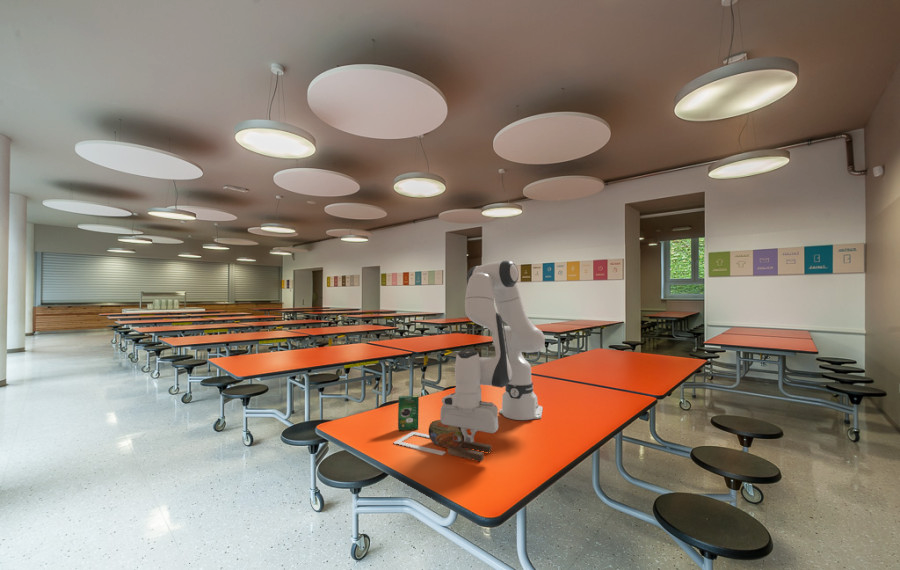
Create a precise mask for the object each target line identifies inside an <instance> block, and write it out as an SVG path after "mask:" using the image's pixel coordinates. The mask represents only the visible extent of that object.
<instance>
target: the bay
mask: <svg viewBox="0 0 900 570" xmlns="http://www.w3.org/2000/svg"><path fill="white" fill-rule="evenodd" d="M413 435H414V436H415V435H417V437H420V436H421V438H425V437H426V439H429V438H430V437H429V434H426V433H421V432H417V431H411V432H409V433H408V434H406V435H404V436H402V437H400V438H399V439H396V441H394V442H393V443H394V444H393V445H396V444H399V445H398V446H400V445H402V446H401V447H404V446H406V447H405V448H409V447H410V448H409V449H413V450H416V451H417V450H418V451H422V452H425V453H430V454H435V455H439V456H444V455H445V454H447V453H446V451H444V450H439V449H435V448H430V447H427V446H426V447H425V446H421V445H417V444H413V443H408V442H405V441H406V439H407V440H409V439H410V438H411V436H412V437H414V436H413ZM409 437H410V438H409ZM408 438H409V439H408ZM404 440H405V441H404ZM402 441H403V442H402Z"/></svg>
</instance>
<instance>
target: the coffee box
mask: <svg viewBox="0 0 900 570" xmlns="http://www.w3.org/2000/svg"><path fill="white" fill-rule="evenodd" d="M419 398H420V397H419V395H417V394H416V395H401V396H400V395H399V396H398V402H397V403H398V405H397V406H398V410H397V430H398V429H399V430H406V431H412V429H416V430H419V410H420V409H419V402H420V401H419ZM399 430H398V431H399Z"/></svg>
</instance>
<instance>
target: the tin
mask: <svg viewBox="0 0 900 570" xmlns="http://www.w3.org/2000/svg"><path fill="white" fill-rule="evenodd" d="M428 435H429V437H430V441H431V443H433V444H434V445H436V446H438V447H442V448H446V449H448V447H450V446H455V447H459V448H461V447H462V446H463V445H464V444H465V441H464V436H463V434H462V432H461V428H460V427H455V426H449V425H443V424H442V423H441V420H440V419H436V420H433V421H431V422H430V424H429V426H428Z"/></svg>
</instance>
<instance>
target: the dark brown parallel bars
mask: <svg viewBox="0 0 900 570" xmlns="http://www.w3.org/2000/svg"><path fill="white" fill-rule="evenodd" d="M465 448H468V449H465ZM470 449H474V450H470ZM475 450H479V451H484V452H488V453H487V454H490V453H491V452H492V444H488V443H487V444H486V443H482V442H478V441H473V442H472V443H471V442H465V444H464V445H463V446H462V447H461V448H459V447H455V446H450V447H448V448H447V455H451V456H455V457H459V458H463V457H464V458H463V459H467V458H469V460H472V459H474V460H473V461H476V460H478V461H477V462H480V461H481V462H482V461H483V460H484V457H485V456H484V452H479V451H475ZM490 451H491V452H490ZM489 452H490V453H489Z"/></svg>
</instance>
